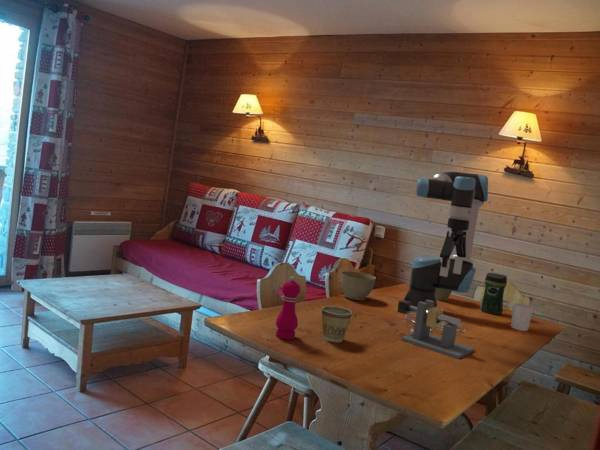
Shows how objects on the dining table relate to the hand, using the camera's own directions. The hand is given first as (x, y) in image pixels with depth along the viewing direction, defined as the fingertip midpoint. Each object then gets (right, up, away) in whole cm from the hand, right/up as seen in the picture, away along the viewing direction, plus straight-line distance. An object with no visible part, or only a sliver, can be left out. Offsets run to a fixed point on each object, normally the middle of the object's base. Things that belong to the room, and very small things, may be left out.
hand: (450, 274), depth 198 cm
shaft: (-11, -15, -11) cm, 21 cm away
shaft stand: (-8, -23, -13) cm, 28 cm away
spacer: (-9, -17, -12) cm, 22 cm away
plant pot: (+14, -19, +67) cm, 71 cm away
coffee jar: (+34, -23, +51) cm, 65 cm away
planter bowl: (-31, -15, +45) cm, 57 cm away
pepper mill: (-61, -18, -24) cm, 68 cm away
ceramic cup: (-44, -20, -20) cm, 52 cm away
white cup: (+37, -25, +27) cm, 52 cm away
